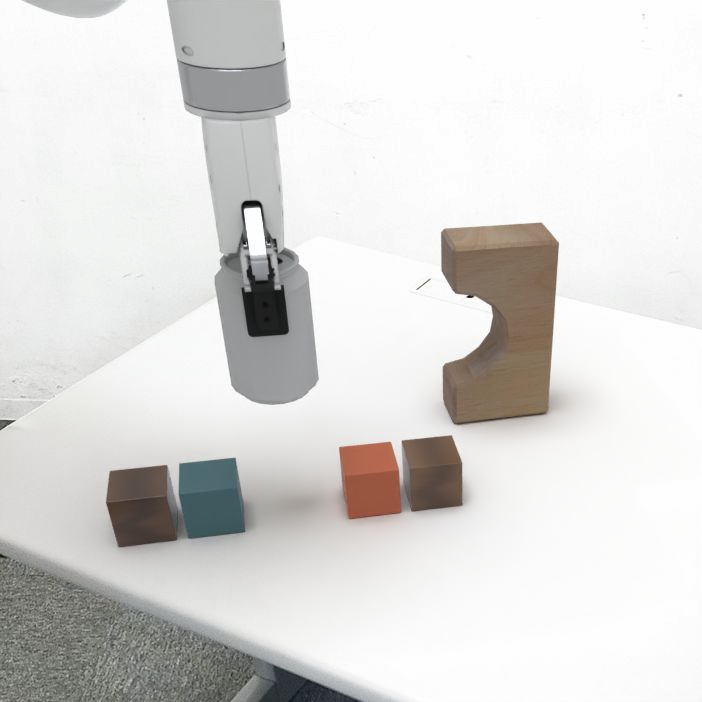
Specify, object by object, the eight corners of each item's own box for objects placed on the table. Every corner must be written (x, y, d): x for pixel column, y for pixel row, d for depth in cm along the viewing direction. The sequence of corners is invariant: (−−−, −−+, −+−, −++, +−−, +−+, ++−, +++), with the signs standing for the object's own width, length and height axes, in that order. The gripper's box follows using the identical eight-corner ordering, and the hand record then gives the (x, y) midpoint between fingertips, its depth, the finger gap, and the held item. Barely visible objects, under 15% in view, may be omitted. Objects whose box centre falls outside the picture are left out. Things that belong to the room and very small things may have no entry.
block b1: (118, 547, 86) (105, 502, 83) (121, 514, 90) (109, 470, 87) (176, 540, 87) (166, 495, 84) (177, 508, 91) (167, 464, 88)
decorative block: (452, 425, 105) (451, 248, 93) (442, 399, 109) (439, 226, 97) (549, 415, 108) (560, 241, 96) (535, 390, 112) (544, 220, 100)
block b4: (411, 511, 93) (409, 468, 90) (403, 482, 96) (401, 440, 93) (462, 505, 94) (462, 462, 91) (452, 476, 98) (451, 434, 94)
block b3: (348, 519, 91) (344, 475, 88) (342, 489, 95) (338, 446, 92) (401, 512, 92) (399, 469, 89) (393, 483, 96) (391, 441, 93)
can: (333, 374, 87) (321, 246, 80) (298, 415, 81) (282, 281, 74) (256, 362, 88) (237, 234, 81) (216, 401, 82) (192, 267, 75)
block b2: (188, 538, 88) (178, 494, 85) (188, 506, 91) (179, 463, 88) (245, 531, 89) (237, 487, 86) (243, 500, 93) (235, 457, 90)
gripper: (181, 57, 75) (217, 273, 86) (180, 120, 62) (221, 365, 73) (280, 56, 77) (302, 268, 88) (298, 117, 64) (322, 357, 75)
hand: (265, 311), depth 80 cm, fingers closed on can, 7 cm apart
